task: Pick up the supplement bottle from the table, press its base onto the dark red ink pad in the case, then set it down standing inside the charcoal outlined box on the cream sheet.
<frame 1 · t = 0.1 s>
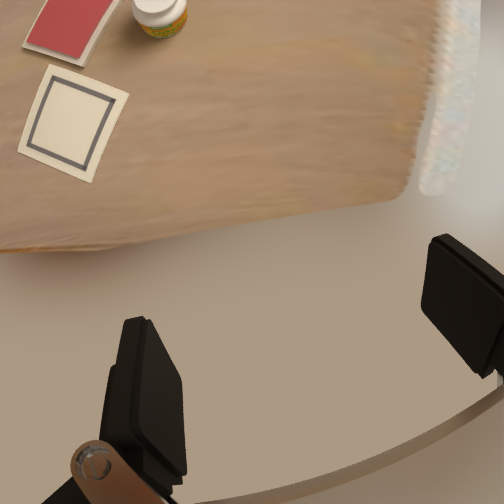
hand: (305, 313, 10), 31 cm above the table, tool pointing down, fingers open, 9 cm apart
supplement bottle: (164, 19, 28), on the table
marked sheet: (68, 122, 31), on the table
ink pad: (72, 20, 25), on the table
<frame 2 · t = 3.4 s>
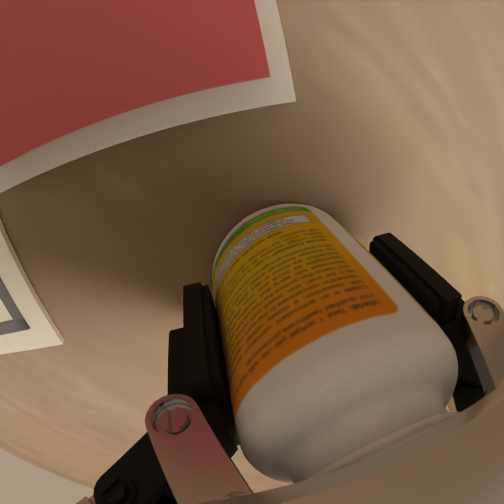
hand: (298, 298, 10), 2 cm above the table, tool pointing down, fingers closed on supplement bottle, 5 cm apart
supplement bottle: (280, 264, 12), on the table, touching gripper
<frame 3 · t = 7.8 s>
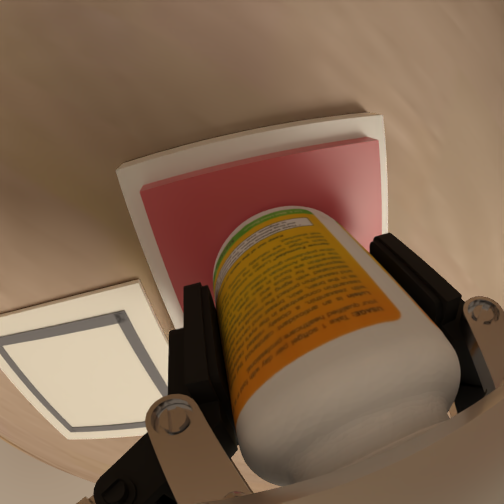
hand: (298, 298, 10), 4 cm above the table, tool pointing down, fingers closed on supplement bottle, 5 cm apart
supplement bottle: (282, 267, 12), point 2 cm above the table, touching gripper
marked sheet: (89, 383, 16), on the table
ink pad: (272, 245, 14), on the table
when the fingers open (3 cm above the table, at t = 12.6 s): supplement bottle stays where it is, resting on marked sheet.
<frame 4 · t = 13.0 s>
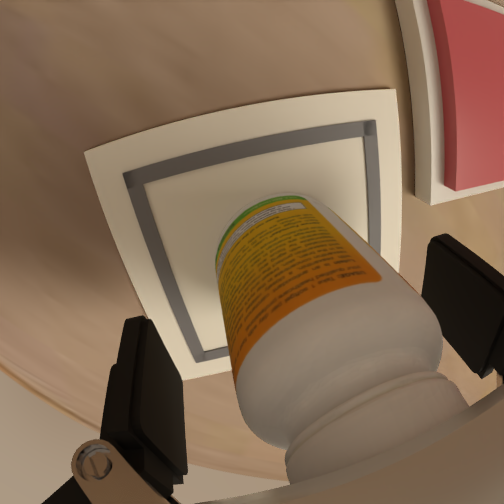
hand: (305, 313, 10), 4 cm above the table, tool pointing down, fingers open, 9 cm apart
supplement bottle: (279, 251, 13), resting on marked sheet
marked sheet: (274, 252, 13), on the table
ink pad: (480, 90, 11), on the table
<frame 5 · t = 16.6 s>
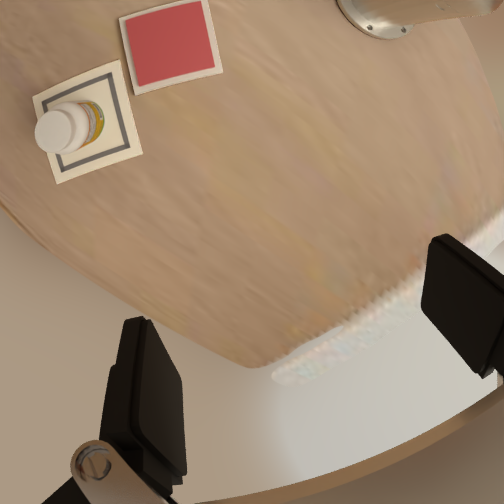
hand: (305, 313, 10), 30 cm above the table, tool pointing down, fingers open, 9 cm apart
supplement bottle: (85, 122, 31), resting on marked sheet
marked sheet: (84, 122, 31), on the table
ink pad: (170, 44, 29), on the table
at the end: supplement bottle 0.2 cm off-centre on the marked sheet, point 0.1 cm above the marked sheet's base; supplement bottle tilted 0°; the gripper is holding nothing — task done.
